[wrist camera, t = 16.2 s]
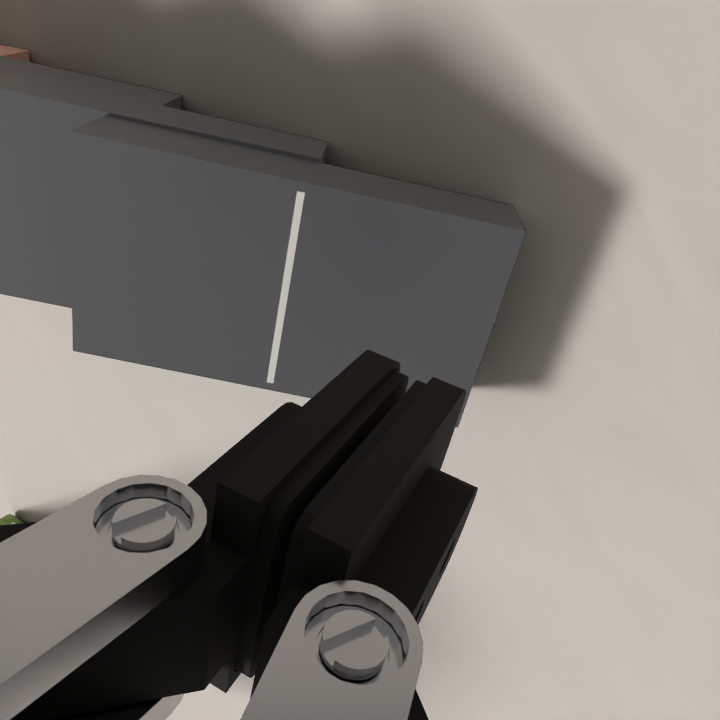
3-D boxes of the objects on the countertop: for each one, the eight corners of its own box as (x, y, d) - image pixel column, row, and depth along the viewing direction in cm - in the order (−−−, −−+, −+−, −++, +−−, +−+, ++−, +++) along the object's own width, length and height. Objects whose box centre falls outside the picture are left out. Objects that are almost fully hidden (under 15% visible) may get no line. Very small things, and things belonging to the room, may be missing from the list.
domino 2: (525, 231, 13) (69, 131, 13) (457, 427, 16) (72, 350, 15) (512, 205, 15) (105, 115, 14) (452, 387, 17) (103, 316, 17)
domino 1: (320, 159, 15) (-104, 66, 14) (287, 351, 17) (-74, 279, 16) (327, 142, 16) (-53, 58, 16) (296, 320, 19) (-33, 253, 18)
